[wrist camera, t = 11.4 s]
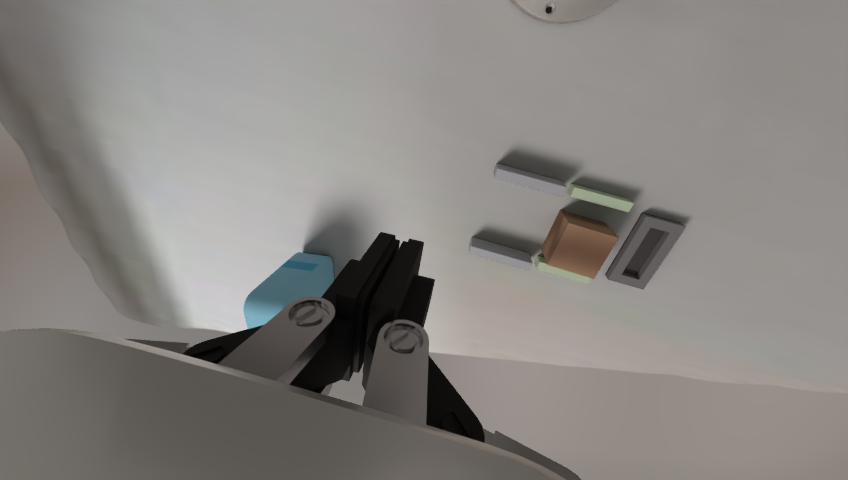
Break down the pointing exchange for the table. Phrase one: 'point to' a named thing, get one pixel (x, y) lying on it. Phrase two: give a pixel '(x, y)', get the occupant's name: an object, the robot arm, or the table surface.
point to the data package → (288, 287)
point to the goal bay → (592, 197)
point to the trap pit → (644, 250)
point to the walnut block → (578, 244)
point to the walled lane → (503, 252)
